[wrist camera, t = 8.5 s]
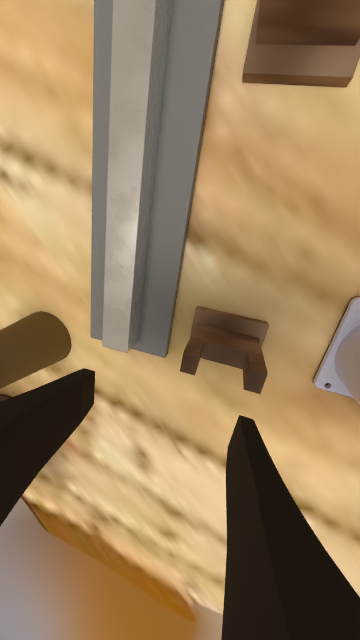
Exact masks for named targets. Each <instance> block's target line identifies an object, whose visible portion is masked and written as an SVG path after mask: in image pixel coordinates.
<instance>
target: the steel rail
mask: <svg viewBox="0 0 360 640" xmlns="http://www.w3.org/2000/svg"><path fill="white" fill-rule="evenodd" d="M172 8H173V0H113V23H112V55H111V87H110V118H109V150H108V182H107V214H106V245H105V277H104V309H103V341H102V346H104V347H107V348H111V349H114V350H118V351H121V352H125V353H128V352H129V351H130V350H131V349H132V348H133V347H134V346H135V345H136V344H137V343H138V342H139V336H140V326H141V316H142V306H143V296H144V286H145V276H146V266H147V256H148V247H149V237H150V227H151V217H152V207H153V197H154V187H155V177H156V167H157V157H158V147H159V137H160V127H161V117H162V108H163V98H164V88H165V78H166V68H167V58H168V48H169V38H170V28H171V18H172Z"/></svg>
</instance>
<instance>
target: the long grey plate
mask: <svg viewBox="0 0 360 640" xmlns="http://www.w3.org/2000/svg"><path fill="white" fill-rule="evenodd" d="M223 5H224V0H173V8H172V18H171V28H170V38H169V48H168V58H167V68H166V78H165V88H164V98H163V108H162V117H161V127H160V137H159V147H158V157H157V167H156V177H155V187H154V197H153V207H152V217H151V227H150V237H149V247H148V256H147V266H146V276H145V286H144V296H143V306H142V316H141V326H140V336H139V342H138V343H137V344H136V345H135V346H134V347H133V348H132V349H135V350H138V351H142V352H146V353H149V354H153V355H156V356H160V357H164V358H165V357H166V356H167V354H168V347H169V341H170V335H171V329H172V323H173V316H174V310H175V304H176V298H177V291H178V285H179V279H180V273H181V266H182V260H183V254H184V248H185V242H186V235H187V229H188V223H189V217H190V210H191V204H192V198H193V192H194V185H195V179H196V173H197V167H198V161H199V154H200V148H201V142H202V136H203V129H204V123H205V117H206V111H207V105H208V98H209V92H210V86H211V80H212V73H213V67H214V61H215V55H216V48H217V42H218V36H219V30H220V24H221V17H222V11H223ZM112 23H113V0H94V75H93V168H92V261H91V337H92V338H95V339H99V340H102V341H103V309H104V277H105V245H106V214H107V182H108V150H109V118H110V87H111V55H112Z"/></svg>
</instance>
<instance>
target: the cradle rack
mask: <svg viewBox="0 0 360 640" xmlns="http://www.w3.org/2000/svg"><path fill="white" fill-rule="evenodd" d="M359 57H360V0H257V4H256V9H255V14H254V19H253V24H252V29H251V34H250V39H249V44H248V49H247V54H246V59H245V64H244V69H243V82H250V83H271V84H293V85H314V86H335V87H346V86H347V85H348V83H349V82H350V81H351V79H352V78H353V75H354V72H355V69H356V66H357V63H358V60H359ZM268 326H269V325H268V322H264V321H260V320H256V319H251V318H247V317H243V316H238V315H234V314H229V313H225V312H221V311H216V310H212V309H208V308H203V307H199V306H197V308H196V311H195V316H194V321H193V326H192V331H191V336H190V340H189V342H188V344H187V346H186V348H185V350H184V353H183V358H182V364H181V369H180V371H181V372H185V373H188V374H192V375H195V373H196V370H197V367H198V363H199V360H200V358H203V359H207V360H211V361H214V362H218V363H222V364H225V365H229V366H233V367H236V368H240V369H243V381H244V390H248V391H251V392H255V393H258V394H260V393H261V390H262V388H263V385H264V382H265V379H266V377H267V370H266V366H265V361H264V357H263V353H262V349H261V347H262V344H263V341H264V338H265V335H266V332H267V329H268Z"/></svg>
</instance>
